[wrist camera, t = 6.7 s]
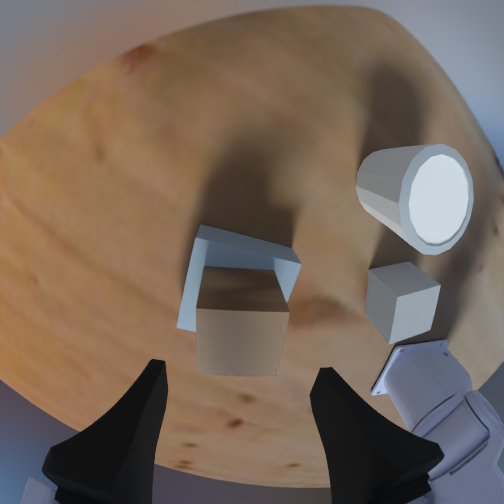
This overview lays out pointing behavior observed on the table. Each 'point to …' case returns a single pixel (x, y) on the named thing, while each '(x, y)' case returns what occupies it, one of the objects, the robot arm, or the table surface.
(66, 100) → the table surface
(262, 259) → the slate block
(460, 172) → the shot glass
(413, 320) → the grey cube
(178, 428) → the table surface
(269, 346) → the walnut cube
